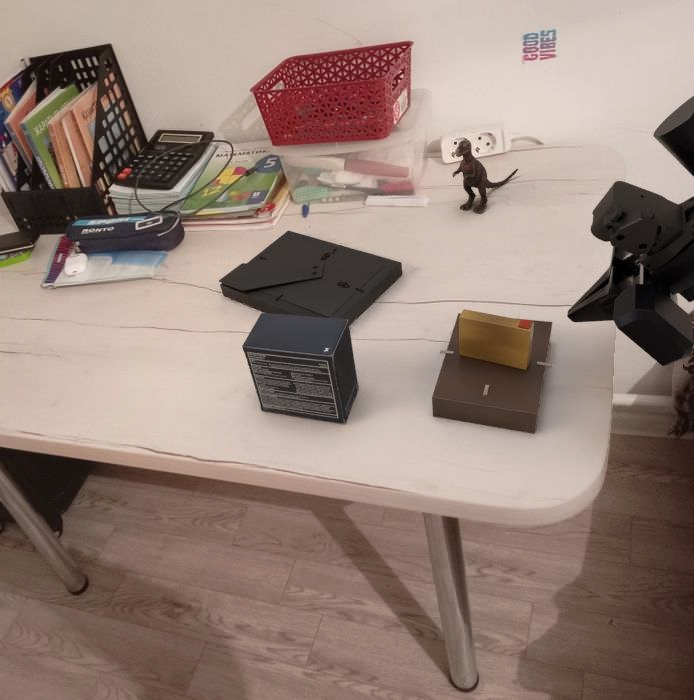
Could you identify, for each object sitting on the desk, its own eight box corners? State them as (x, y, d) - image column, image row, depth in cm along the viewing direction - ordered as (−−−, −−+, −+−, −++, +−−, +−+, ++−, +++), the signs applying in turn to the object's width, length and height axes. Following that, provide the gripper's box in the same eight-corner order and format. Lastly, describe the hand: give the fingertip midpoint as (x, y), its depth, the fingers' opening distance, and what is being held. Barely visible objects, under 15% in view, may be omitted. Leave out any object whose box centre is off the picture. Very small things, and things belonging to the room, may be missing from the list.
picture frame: (223, 295, 93) (333, 340, 80) (218, 280, 91) (330, 324, 78) (290, 241, 100) (402, 274, 86) (287, 226, 98) (401, 257, 84)
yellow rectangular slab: (459, 354, 68) (458, 315, 65) (463, 346, 69) (463, 306, 65) (526, 370, 64) (530, 329, 61) (530, 361, 65) (534, 320, 62)
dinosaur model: (449, 143, 86) (508, 104, 92) (443, 217, 94) (498, 177, 100) (475, 149, 83) (534, 108, 90) (467, 225, 91) (522, 183, 97)
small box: (361, 384, 73) (351, 316, 66) (346, 425, 69) (333, 357, 62) (278, 373, 78) (261, 309, 71) (259, 411, 74) (239, 347, 67)
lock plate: (453, 331, 76) (452, 311, 74) (555, 342, 70) (558, 321, 68) (426, 415, 67) (425, 395, 65) (541, 435, 62) (544, 414, 60)
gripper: (668, 108, 54) (523, 216, 66) (672, 225, 43) (495, 329, 55) (757, 188, 55) (597, 279, 68) (783, 322, 44) (586, 403, 56)
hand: (570, 317), depth 62 cm, fingers closed
